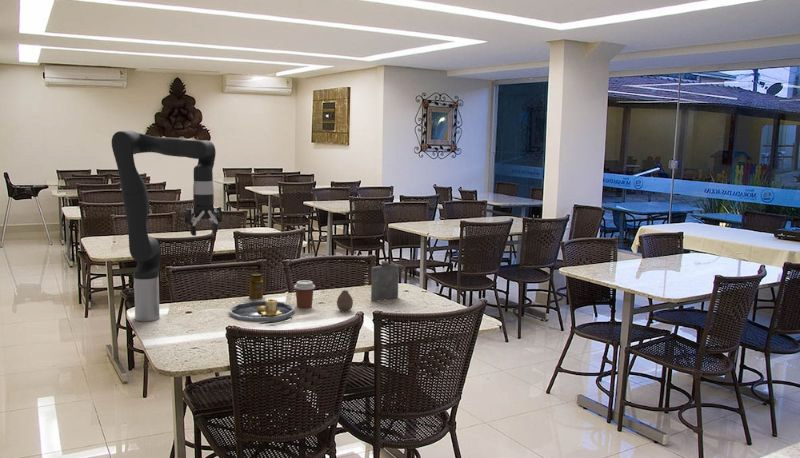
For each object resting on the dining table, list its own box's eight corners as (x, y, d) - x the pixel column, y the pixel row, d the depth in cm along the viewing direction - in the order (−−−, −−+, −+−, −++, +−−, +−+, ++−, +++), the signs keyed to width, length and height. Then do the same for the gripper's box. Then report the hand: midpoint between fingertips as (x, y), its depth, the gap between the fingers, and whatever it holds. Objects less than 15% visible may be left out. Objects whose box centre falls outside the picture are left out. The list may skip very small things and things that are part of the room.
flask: (369, 300, 303) (369, 262, 300) (394, 296, 311) (395, 259, 308) (373, 301, 300) (373, 263, 297) (399, 298, 308) (400, 260, 305)
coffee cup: (289, 309, 283) (289, 282, 281) (302, 305, 291) (302, 278, 289) (306, 312, 279) (307, 285, 277) (319, 308, 287) (319, 281, 285)
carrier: (218, 313, 274) (218, 297, 273) (271, 303, 292) (271, 288, 291) (251, 327, 255) (251, 310, 254) (305, 316, 273) (305, 300, 272)
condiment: (263, 298, 301) (263, 272, 299) (264, 302, 293) (263, 276, 291) (247, 298, 300) (247, 273, 298) (247, 303, 291) (247, 277, 290)
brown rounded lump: (355, 310, 284) (356, 291, 283) (344, 313, 279) (344, 293, 278) (345, 307, 289) (345, 288, 287) (333, 310, 284) (333, 290, 282)
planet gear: (256, 315, 268) (256, 300, 267) (274, 312, 274) (274, 296, 273) (268, 319, 262) (268, 304, 261) (285, 316, 268) (285, 300, 267)
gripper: (215, 191, 258) (216, 231, 260) (181, 192, 248) (182, 234, 250) (225, 192, 253) (225, 234, 255) (190, 194, 243) (191, 237, 245)
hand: (204, 234), depth 253 cm, fingers open, 8 cm apart
